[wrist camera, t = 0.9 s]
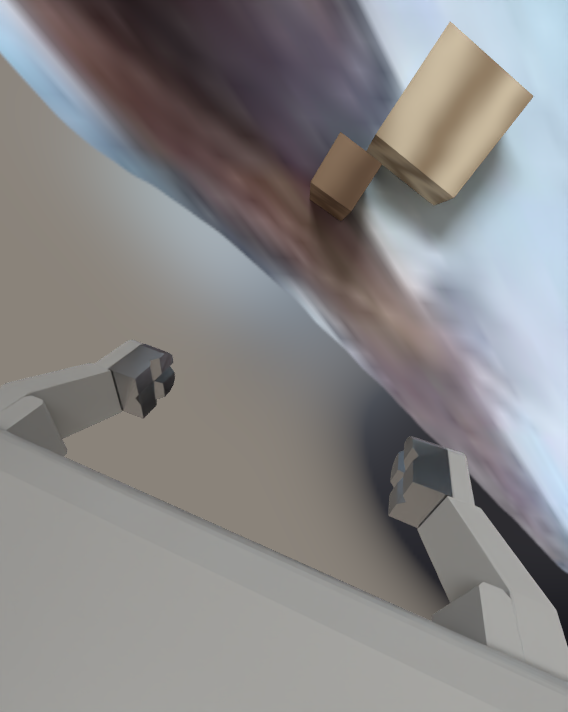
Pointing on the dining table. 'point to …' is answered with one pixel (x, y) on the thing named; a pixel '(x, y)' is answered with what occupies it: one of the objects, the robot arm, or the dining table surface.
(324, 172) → the walnut pillar
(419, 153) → the beech block
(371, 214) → the dining table surface
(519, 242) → the dining table surface
